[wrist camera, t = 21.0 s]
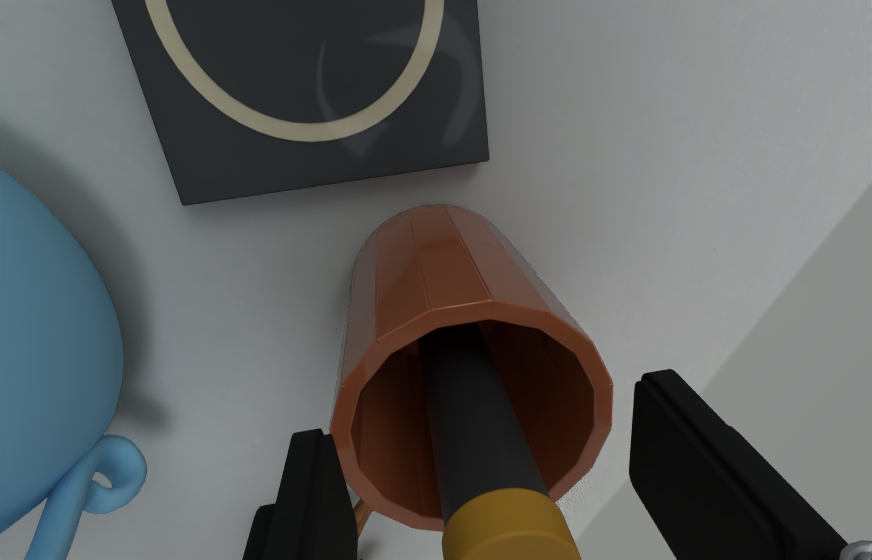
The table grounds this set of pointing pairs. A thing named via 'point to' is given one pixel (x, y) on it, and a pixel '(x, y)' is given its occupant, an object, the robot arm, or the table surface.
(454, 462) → the marker
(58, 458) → the teapot
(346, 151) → the slate
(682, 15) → the table surface
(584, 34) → the table surface
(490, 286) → the pen cup
